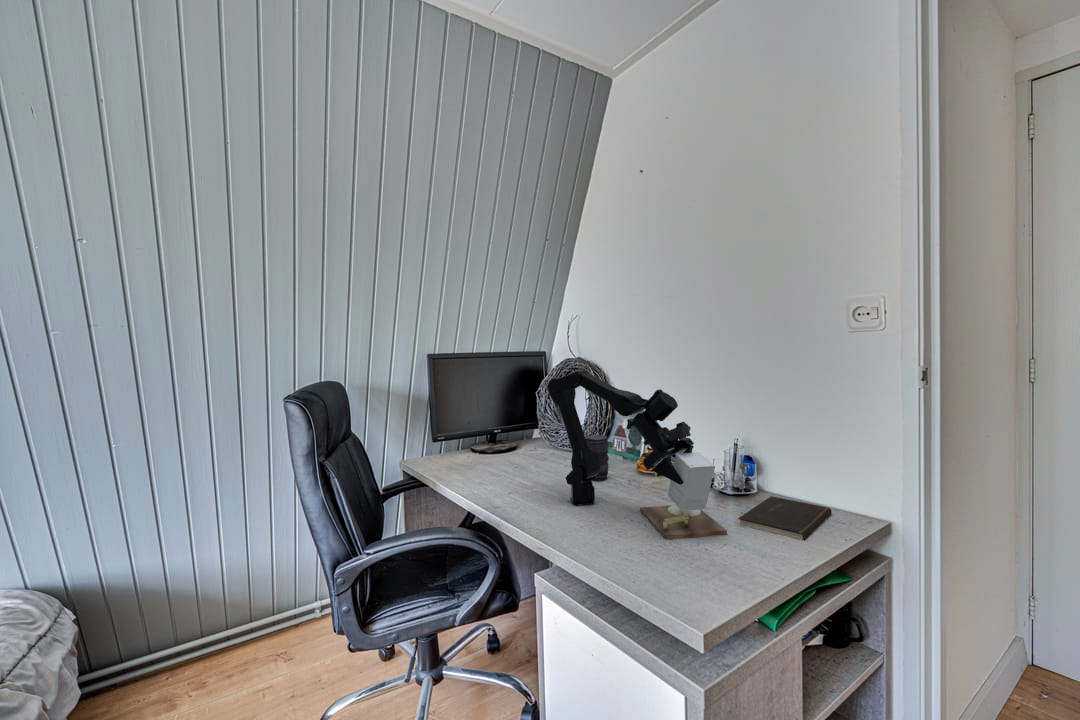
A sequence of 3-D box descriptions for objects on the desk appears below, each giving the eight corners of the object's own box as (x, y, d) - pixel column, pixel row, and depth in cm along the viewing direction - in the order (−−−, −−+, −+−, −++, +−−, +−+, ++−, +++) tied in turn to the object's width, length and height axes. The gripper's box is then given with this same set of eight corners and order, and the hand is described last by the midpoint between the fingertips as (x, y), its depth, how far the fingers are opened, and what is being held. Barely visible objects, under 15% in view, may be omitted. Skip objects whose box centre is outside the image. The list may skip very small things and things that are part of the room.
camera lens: (595, 474, 180) (594, 433, 180) (613, 478, 175) (612, 436, 174) (581, 479, 175) (580, 437, 174) (599, 483, 169) (598, 440, 168)
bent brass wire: (677, 535, 121) (676, 523, 121) (662, 531, 124) (662, 519, 124) (698, 521, 130) (698, 509, 130) (684, 517, 133) (683, 506, 132)
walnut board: (664, 539, 122) (664, 534, 122) (639, 511, 141) (639, 506, 141) (727, 534, 123) (726, 529, 123) (693, 507, 143) (693, 503, 143)
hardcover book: (738, 526, 130) (738, 517, 129) (771, 503, 146) (771, 495, 146) (803, 543, 118) (803, 533, 118) (831, 516, 134) (831, 508, 134)
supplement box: (706, 509, 126) (716, 466, 122) (680, 511, 124) (690, 467, 120) (691, 493, 132) (700, 451, 128) (666, 494, 130) (675, 452, 127)
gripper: (653, 418, 122) (695, 469, 115) (686, 408, 136) (726, 453, 129) (626, 445, 128) (665, 495, 121) (661, 433, 142) (698, 477, 135)
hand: (690, 479), depth 126 cm, fingers closed on supplement box, 9 cm apart
